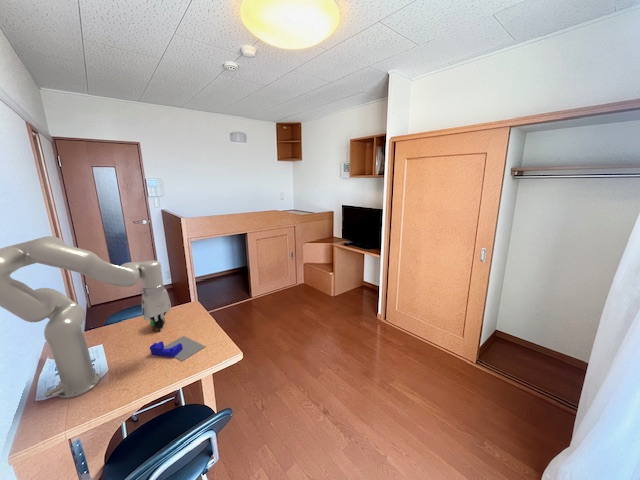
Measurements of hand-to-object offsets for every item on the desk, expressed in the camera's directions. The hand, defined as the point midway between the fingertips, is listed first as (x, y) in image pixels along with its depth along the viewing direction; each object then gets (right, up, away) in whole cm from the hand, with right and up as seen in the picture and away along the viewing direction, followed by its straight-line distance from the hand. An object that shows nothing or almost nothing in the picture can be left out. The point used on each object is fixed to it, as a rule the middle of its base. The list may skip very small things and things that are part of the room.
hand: (159, 327), depth 115 cm
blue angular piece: (-1, -13, +4) cm, 14 cm away
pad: (+5, -14, +11) cm, 18 cm away
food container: (-19, -10, +28) cm, 36 cm away
